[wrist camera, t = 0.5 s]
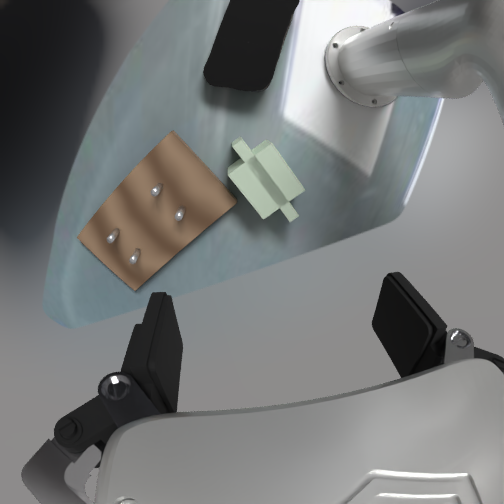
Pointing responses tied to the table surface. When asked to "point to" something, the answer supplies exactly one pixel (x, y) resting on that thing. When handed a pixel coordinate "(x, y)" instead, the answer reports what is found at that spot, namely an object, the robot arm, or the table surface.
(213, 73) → the black sponge
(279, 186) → the green grooved block
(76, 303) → the table surface
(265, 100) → the table surface
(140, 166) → the pin plate
